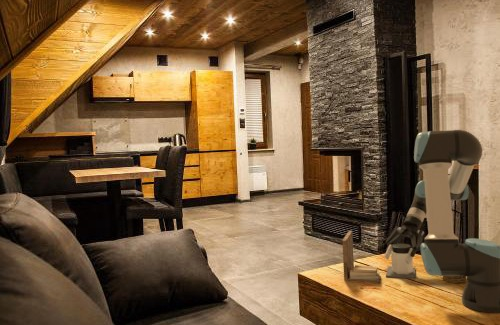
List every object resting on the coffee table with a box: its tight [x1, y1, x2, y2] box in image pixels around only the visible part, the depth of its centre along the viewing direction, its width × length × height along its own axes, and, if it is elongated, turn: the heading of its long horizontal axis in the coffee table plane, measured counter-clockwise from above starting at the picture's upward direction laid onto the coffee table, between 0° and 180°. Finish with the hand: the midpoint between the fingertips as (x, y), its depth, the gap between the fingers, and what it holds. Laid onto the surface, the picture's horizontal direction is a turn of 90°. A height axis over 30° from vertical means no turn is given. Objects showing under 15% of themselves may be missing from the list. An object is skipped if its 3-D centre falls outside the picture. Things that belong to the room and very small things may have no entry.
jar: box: [390, 243, 414, 275], centre depth 193 cm, size 9×8×12 cm
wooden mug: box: [442, 276, 467, 284], centre depth 179 cm, size 9×14×18 cm, turn 15°
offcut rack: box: [341, 230, 382, 284], centre depth 194 cm, size 20×15×18 cm
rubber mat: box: [385, 265, 416, 280], centre depth 194 cm, size 14×12×1 cm
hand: (396, 260), depth 192 cm, fingers open, 10 cm apart
